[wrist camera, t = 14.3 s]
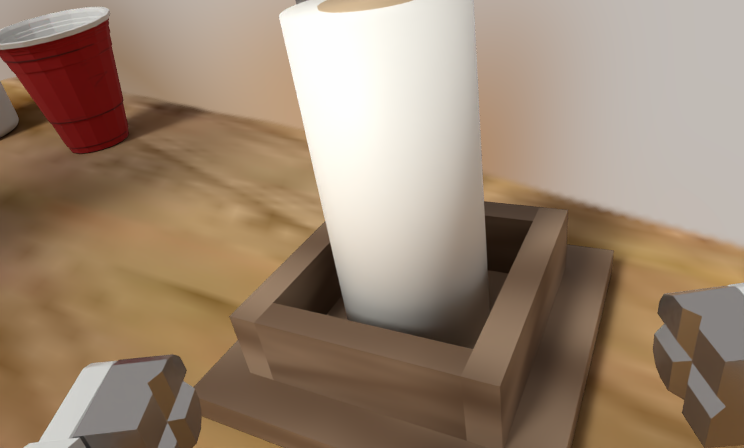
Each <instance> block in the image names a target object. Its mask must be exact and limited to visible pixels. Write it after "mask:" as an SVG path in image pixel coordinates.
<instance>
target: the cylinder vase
mask: <svg viewBox="0 0 744 448" xmlns="http://www.w3.org/2000/svg"><path fill="white" fill-rule="evenodd" d="M18 121H19V119H18V115H17V113H16V111H15V109H14V107H13V105H12V103H11V101H10V100H9V98H8V96H7V94H6V92H5V90H4V88H3V86H2V84H1V82H0V137H2V136H4V135H6V134H8V133H9V132H10V131H12V130H13V129H14V128H15V127H16V126H17V124H18Z"/></svg>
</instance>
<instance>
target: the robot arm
mask: <svg viewBox="0 0 744 448" xmlns="http://www.w3.org/2000/svg"><path fill="white" fill-rule="evenodd" d="M658 315H659V316H660V318H661V319H662V320H663V322H664V323H665V324H664V325H663V326H662V327H661V328H660V329H659V330H658V331H657V332H656V333H655V334H654V344H653V353H654V359H655V364H656V368H657V370H658V373H659V375H660V378H661V379H662V381H663V383H664V384H665V386H666V388H667V389H668V391H670V392H672V393H673V394H675V395H677V396H678V397H680V398H682V399H683V400H684V405H683V410H682V414H683V415H684V417H685V418H686V420H687V421H688V423H689V425H690V426H691V428H692V429H693V431H694V433H695V434H696V436H697V437H698V439H699V440H700V442H701V444H702V445H703V447H704V448H714V447H727V446H740V445H744V283H739V284H732V285H728V286H721V287H713V288H706V289H698V290H690V291H683V292H675V293H667V294H664V295H663V296H662V298H661V300H660V302H659V308H658ZM186 371H187V370H186V368H185V366H184V364H183V362H182V360H181V358H180V357H179V356H176V355H164V356H153V357H143V358H133V359H123V360H118V361H109V362H99V363H91V364H90V365H88V366H86V367H85V368H83V370H82V371H81V373H80V375H79V376H78V378H77V380H76V381H75V383H74V384H73V386H72V388H71V389H70V391H69V393H68V394H67V396H66V398H65V399H64V401H63V403H62V404H61V406H60V408H59V409H58V411H57V412H56V414H55V416H54V417H53V419H52V421H51V422H50V424H49V426H48V427H47V429H46V431H45V432H44V434H43V435H42V437H41V439H40V440H39V442H36V443H29V444H28V445H26V446H25V447H24V448H193V447H194V446H195V445H196V444H197V440H198V437H199V433H200V430H201V415H202V410H201V405H200V400H199V397H198V395H197V392H196V390H195V388H193V387H192V386H190V385H188V384H187V383H185V382H184V381H183V379H184V377H185V374H186Z"/></svg>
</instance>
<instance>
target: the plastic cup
mask: <svg viewBox="0 0 744 448" xmlns="http://www.w3.org/2000/svg"><path fill="white" fill-rule="evenodd" d="M109 16H110V11H109V9H107V8H104V7H86V8H78V9H72V10H66V11H61V12H56V13H51V14H47V15H43V16H40V17H36V18H33V19H29V20H25V21H22V22H20V23H17V24H14V25H11V26H8V27H5V28H3V29H1V30H0V57H1V58H2V60H3V61H4V62H5V63H7V65H8V66H9V68H10V69H11V70H12V71H13V72H14V73H15V74H16V76H17V77H18V79H19V80H20V82H21V83H22V84H23V86H24V87H25V89H26V90H27V91H28V93H29V94H30V96H31V97H32V99H33V100H34V101H35V103H36V104H37V106H38V107H39V109H40V110H41V111H42V113H43V114H44V116H45V117H46V118H47V120H48V121H49V122H50V123H51V124H52V125H53V127H54V128H55V130H56V131H57V133H58V134H59V136H60V137H61V139H62V140H63V142H64V143H65V144H66V146H67V147H69V148H70V150H71V151H72V152H73V153H89V152H94V151H98V150H102V149H105V148H108V147H111V146H113V145H115V144H117V143H119V142H121V141H123V140H124V139H125V138H127V137H128V134H129V132H128V123H127V119H126V114H125V110H124V105H123V96H122V91H121V87H120V83H119V79H118V73H117V69H116V65H115V60H114V55H113V51H112V46H111V45H112V42H111V38H110V29H109V26H108V25H109V21H108V20H109Z"/></svg>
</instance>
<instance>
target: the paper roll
mask: <svg viewBox="0 0 744 448" xmlns="http://www.w3.org/2000/svg"><path fill="white" fill-rule="evenodd" d="M279 18H280V22H281V27H282V31H283V35H284V40H285V45H286V49H287V54H288V58H289V62H290V67H291V71H292V76H293V80H294V84H295V89H296V93H297V98H298V102H299V106H300V111H301V116H302V120H303V124H304V129H305V133H306V138H307V142H308V146H309V151H310V155H311V160H312V164H313V169H314V173H315V177H316V182H317V186H318V191H319V195H320V200H321V204H322V208H323V213H324V217H325V222H326V226H327V231H328V235H329V239H330V244H331V248H332V253H333V257H334V261H335V266H336V270H337V275H338V279H339V284H340V288H341V292H342V297H343V301H344V306H345V310H346V315H347V319H348V320H350V321H354V322H358V323H363V324H367V325H371V326H375V327H380V328H384V329H388V330H393V331H397V332H401V333H405V334H410V335H414V336H418V337H423V338H427V339H431V340H435V341H440V342H444V343H448V344H453V345H457V346H461V347H466V348H470V349H474V347H475V345H476V342H477V340H478V338H479V336H480V334H481V332H482V329H483V327H484V325H485V323H486V321H487V319H488V317H489V314H490V308H489V289H488V270H487V250H486V231H485V211H484V192H483V173H482V154H481V135H480V116H479V97H478V77H477V58H476V38H475V18H474V1H473V0H307V1H304V2H302V3H299V4H296V5H294V6H292V7H290V8H288V9H286V10H284V11H283V12H282V13H281V14H280V15H279Z"/></svg>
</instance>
